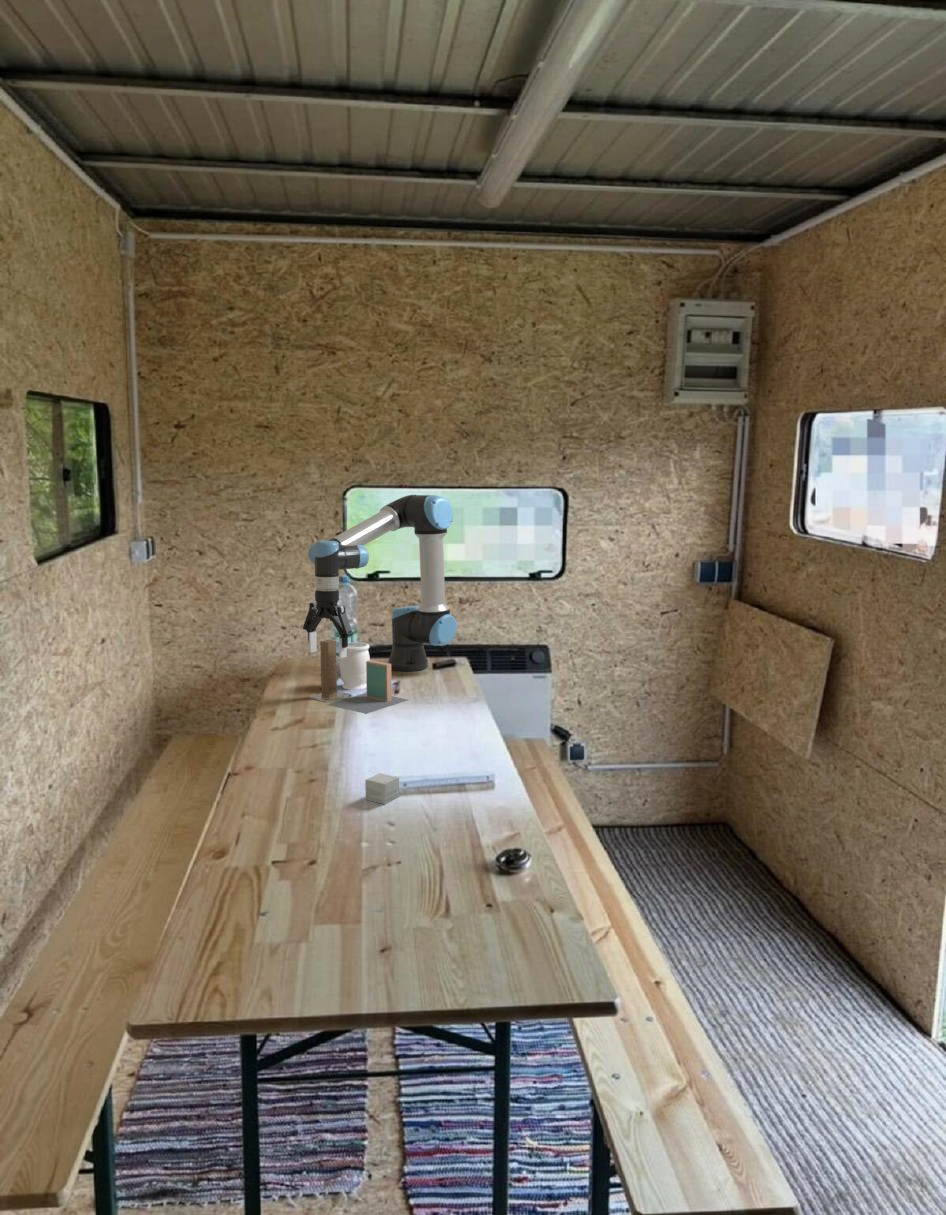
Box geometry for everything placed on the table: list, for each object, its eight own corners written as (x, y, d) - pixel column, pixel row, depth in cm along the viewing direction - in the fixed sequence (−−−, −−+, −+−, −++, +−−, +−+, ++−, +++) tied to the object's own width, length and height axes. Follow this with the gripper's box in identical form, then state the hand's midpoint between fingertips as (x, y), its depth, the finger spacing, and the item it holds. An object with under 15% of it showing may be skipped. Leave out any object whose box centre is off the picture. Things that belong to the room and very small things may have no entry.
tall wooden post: (331, 693, 288) (330, 637, 285) (349, 697, 284) (348, 640, 281) (309, 699, 280) (307, 642, 277) (326, 703, 276) (325, 645, 273)
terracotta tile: (370, 696, 283) (370, 660, 281) (391, 700, 278) (391, 663, 276) (366, 697, 282) (365, 661, 280) (387, 701, 276) (386, 665, 274)
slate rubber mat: (370, 693, 289) (370, 691, 289) (409, 701, 279) (409, 699, 279) (326, 706, 273) (326, 704, 273) (366, 715, 263) (366, 713, 263)
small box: (399, 797, 198) (399, 776, 197) (385, 805, 193) (384, 784, 192) (379, 792, 201) (379, 772, 200) (364, 800, 196) (364, 779, 195)
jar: (335, 685, 298) (334, 643, 296) (364, 682, 303) (363, 640, 300) (344, 693, 289) (343, 649, 287) (374, 689, 293) (373, 646, 291)
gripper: (291, 587, 281) (292, 651, 284) (346, 594, 266) (347, 661, 269) (308, 585, 287) (309, 648, 290) (363, 591, 272) (364, 657, 275)
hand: (327, 654), depth 280 cm, fingers open, 13 cm apart
